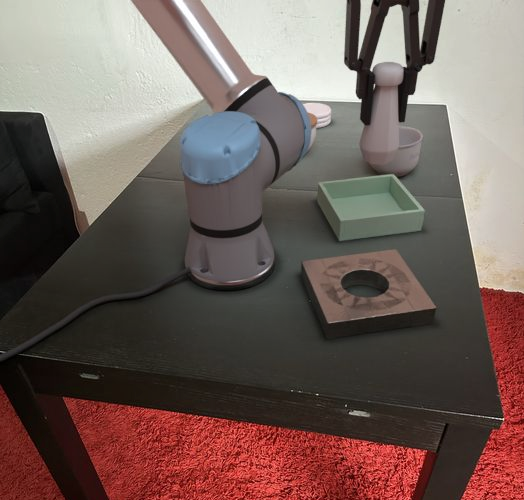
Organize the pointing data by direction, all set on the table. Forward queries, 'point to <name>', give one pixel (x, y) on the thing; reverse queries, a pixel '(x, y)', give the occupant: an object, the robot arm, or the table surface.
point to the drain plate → (360, 308)
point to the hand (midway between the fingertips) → (382, 120)
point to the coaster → (319, 113)
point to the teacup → (403, 153)
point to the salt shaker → (383, 115)
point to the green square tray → (369, 207)
